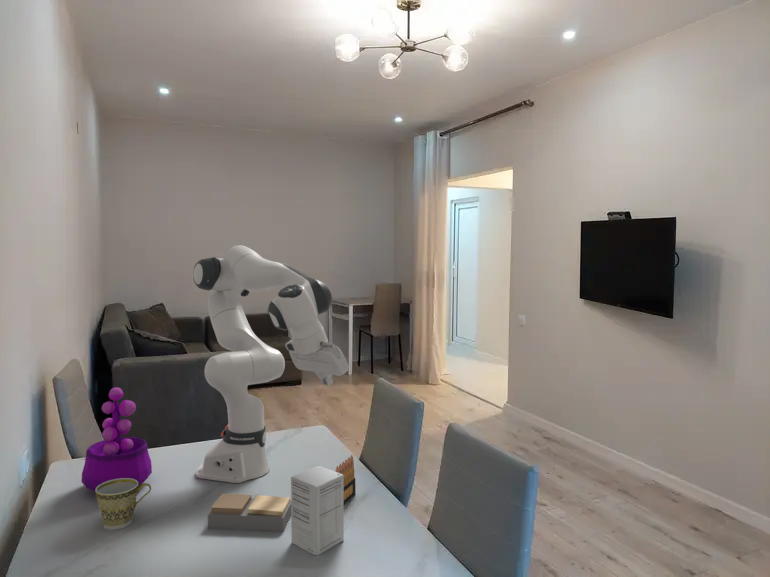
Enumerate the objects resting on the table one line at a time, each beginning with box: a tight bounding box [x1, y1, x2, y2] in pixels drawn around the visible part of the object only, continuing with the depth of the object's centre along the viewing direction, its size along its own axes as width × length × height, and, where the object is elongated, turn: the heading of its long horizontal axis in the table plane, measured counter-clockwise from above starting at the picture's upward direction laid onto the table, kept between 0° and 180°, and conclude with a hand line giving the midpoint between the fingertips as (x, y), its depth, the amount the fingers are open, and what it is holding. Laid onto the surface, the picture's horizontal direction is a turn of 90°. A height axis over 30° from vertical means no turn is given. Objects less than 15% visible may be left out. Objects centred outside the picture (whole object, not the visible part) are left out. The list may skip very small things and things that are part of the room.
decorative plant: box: [81, 387, 153, 493], centre depth 162 cm, size 19×18×30 cm
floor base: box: [207, 493, 291, 533], centre depth 144 cm, size 20×10×5 cm, turn 86°
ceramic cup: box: [95, 478, 152, 531], centre depth 142 cm, size 13×10×10 cm
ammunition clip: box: [335, 454, 357, 506], centre depth 156 cm, size 11×2×12 cm, turn 157°
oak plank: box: [248, 494, 291, 516], centre depth 144 cm, size 9×8×1 cm
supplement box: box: [290, 465, 345, 557], centre depth 134 cm, size 10×9×17 cm
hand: (328, 383), depth 156 cm, fingers closed
